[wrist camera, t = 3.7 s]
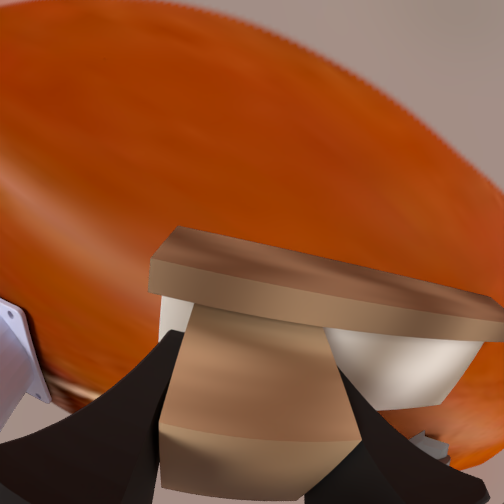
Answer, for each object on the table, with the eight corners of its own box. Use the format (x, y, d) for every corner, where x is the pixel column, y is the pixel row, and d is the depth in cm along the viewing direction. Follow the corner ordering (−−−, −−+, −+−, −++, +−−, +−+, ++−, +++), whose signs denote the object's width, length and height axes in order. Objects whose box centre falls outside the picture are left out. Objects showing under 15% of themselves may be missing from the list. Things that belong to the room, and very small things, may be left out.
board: (162, 369, 12) (147, 417, 9) (177, 225, 10) (150, 258, 7) (432, 391, 13) (451, 424, 11) (490, 297, 11) (522, 324, 8)
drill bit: (450, 420, 16) (429, 511, 12) (394, 425, 19) (377, 514, 15) (461, 432, 12) (431, 537, 8) (392, 439, 15) (368, 540, 11)
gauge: (179, 429, 12) (163, 515, 7) (198, 291, 9) (158, 421, 4) (258, 442, 12) (260, 526, 7) (317, 314, 9) (361, 440, 4)
